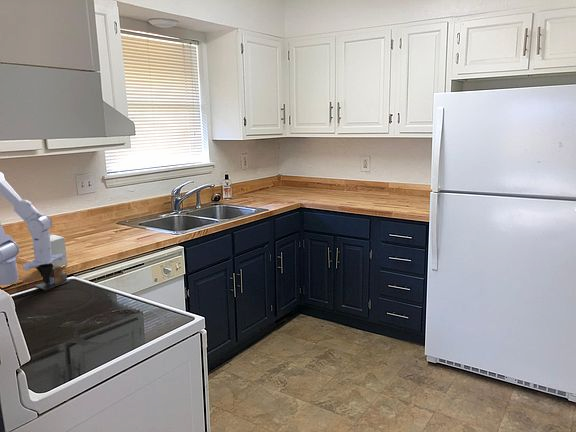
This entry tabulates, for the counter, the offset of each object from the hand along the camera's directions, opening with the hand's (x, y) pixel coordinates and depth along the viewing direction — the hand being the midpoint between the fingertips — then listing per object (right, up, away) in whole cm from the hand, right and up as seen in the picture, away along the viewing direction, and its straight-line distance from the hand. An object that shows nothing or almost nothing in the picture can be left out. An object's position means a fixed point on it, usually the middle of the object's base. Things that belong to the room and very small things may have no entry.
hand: (46, 282), depth 172 cm
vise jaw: (+1, 0, +1) cm, 2 cm away
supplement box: (-7, +4, +19) cm, 21 cm away
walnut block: (+2, 0, +3) cm, 4 cm away
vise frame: (+1, -1, +2) cm, 3 cm away
